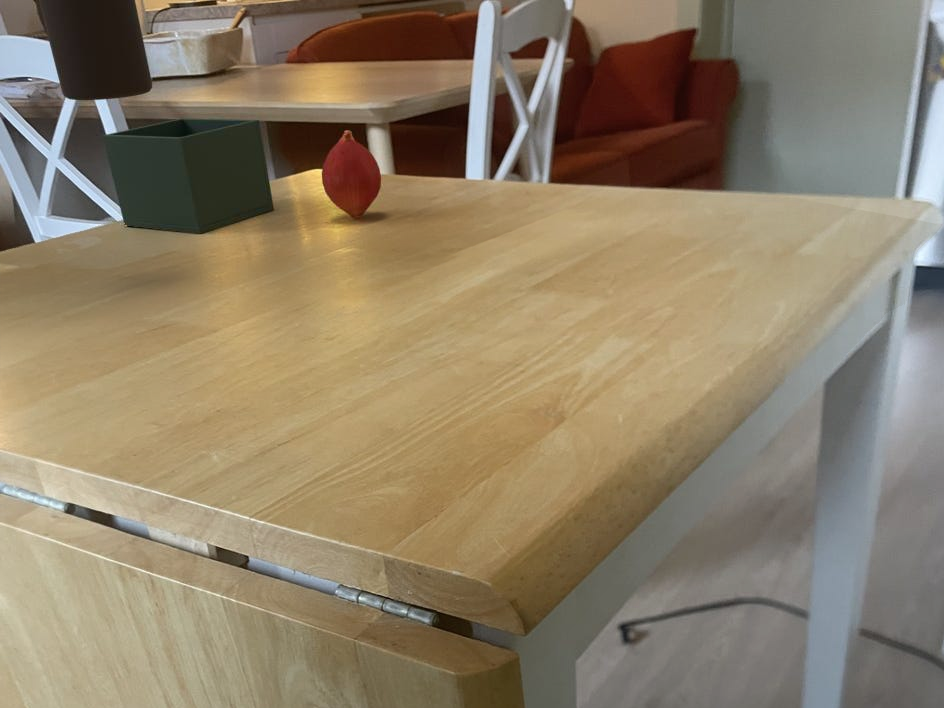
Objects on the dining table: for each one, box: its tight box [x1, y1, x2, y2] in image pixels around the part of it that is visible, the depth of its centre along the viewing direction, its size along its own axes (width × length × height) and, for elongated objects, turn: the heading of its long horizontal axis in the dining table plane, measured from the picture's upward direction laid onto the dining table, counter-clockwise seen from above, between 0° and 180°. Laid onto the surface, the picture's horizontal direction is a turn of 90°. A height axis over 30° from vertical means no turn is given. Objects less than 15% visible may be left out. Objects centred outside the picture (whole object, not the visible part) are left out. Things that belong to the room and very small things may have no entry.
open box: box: [102, 117, 275, 235], centre depth 104 cm, size 11×11×9 cm
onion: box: [321, 129, 382, 219], centre depth 99 cm, size 6×6×8 cm
